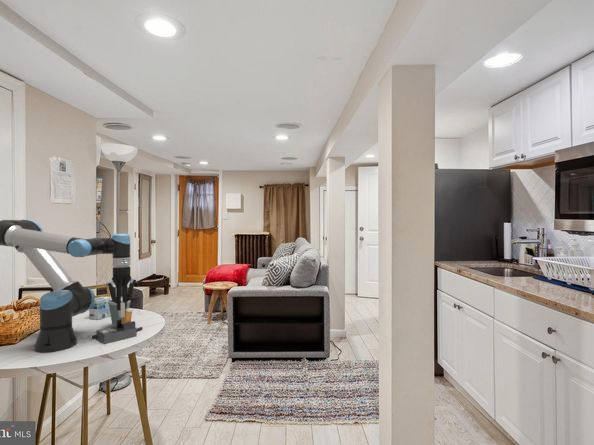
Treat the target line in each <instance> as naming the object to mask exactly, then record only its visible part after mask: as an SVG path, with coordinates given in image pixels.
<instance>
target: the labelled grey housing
mask: <svg viewBox="0 0 594 445" xmlns="http://www.w3.org/2000/svg"><path fill="white" fill-rule="evenodd" d="M137 328H138V327H136V321H135V320H134V321H133V320H131V322H127V323H123V326H122V324H121V319H120V320H116V327H113V326H112V327H111V326H110V327H107V328H103V329H98V330H96V334H95V335H96V338H95V339H96V340H97V341H99V342H100V343H101V344H102V343H103V344H104V345H107V344H111V343H115V342H118V341H124V340H128V339H131V338H132V339H133V338H135V337H137V335H138V334H137V332H138V331H137Z"/></svg>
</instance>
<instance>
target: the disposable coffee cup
mask: <svg viewBox="0 0 594 445" xmlns="http://www.w3.org/2000/svg"><path fill="white" fill-rule="evenodd" d="M121 302H123V301H122V296H121ZM108 304H109V309H110V314H111V316H110V319H111V326H112V327H116V320H120V319H122V317H119V310H117V303H114V302H112V298H110V299H109V301H108ZM130 306H131V300H129V301H128V302H127V308H130Z"/></svg>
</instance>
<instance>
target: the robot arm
mask: <svg viewBox="0 0 594 445" xmlns="http://www.w3.org/2000/svg"><path fill="white" fill-rule="evenodd" d="M131 244H132V243H131V235H130V234H129V233H113V234H112V236H111V237H89V238H82V237H81V238H80V237H74V236H68V235H63V234H57V233H51V232H45V231H44V229H43V227H42V225H40V224H39V223H38V222H36V221H34V220H29V219H1V220H0V246H4V247H12V248H14V249H15V250H16V251H17V252H18V253H23V254H24V255H25V257H26V258H27V259H28V260H29V261H30V262H31V264H32V265H33V267H35V269H36V270H37V271H38V272H39V273H40V275H41V277H42V278H43V279H44V280H45V282H46V283H47V284H48V285H49V286H50V287H51V289H52V290H53V291H49V292H46V293H44V294H43V295H42V296H41V297H40V299H39V333H38V336H37V338H36V341H35V344H34V351H36V352H38V353H52V352H53V353H54V352H55V353H56V352H59V351H65V350H68V349H70V348H72V347H74V346H76V345H77V344H78V338H77V334H76V332H75V330H74V328H73V317H76V316H77V315H80V314H84V313H86V312H88V311H89V309H90V308H91V307H92V306H93V304H94V300H95V298H96V295H95V292H94V291H93V290H92V289H91V288H89V287H86V286H83V285H82V284H81V283H80V281H78V280H74V279H73V278H72V277H71V276H70V275H69V274H68V272H67V271H66V270H65V268H64V267H63V266H62V264H61V263H60V262H59V261H58V259H57V258H56V257H55V256H54V255H53V253H52V252H56V253H61V254H67V255H70V256H71V257H73V258H84V257H90V256H95V255H107V254H109V255H112V278H111V280H110V281H109V282H106V287H108V290H109V294H110V297H111V298H112V302H114V303H117V310H119V317H125V309H127V302H128V301H129V300H130V301H131V300H132V296H133V292H134V287H135V284H136V282H137V280H136V279H134V278H132V276H131V266H130V265H131ZM114 285H115V288H116V289H115V288H114ZM115 291H116V292H115ZM121 297H122V301H123V302H121Z"/></svg>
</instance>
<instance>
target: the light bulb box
mask: <svg viewBox="0 0 594 445" xmlns="http://www.w3.org/2000/svg"><path fill="white" fill-rule="evenodd" d="M110 298H111V296H100V297H95V300H94V304H93V306H92V307H91V308H90V309H89V310H88V315H89V317H88V319H89V320H96V321H97V320H98V321H99V320H102V319H105V318H108V317H109V318H110V317H111V314H110V309H109V304H108V301H109V299H110Z"/></svg>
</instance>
